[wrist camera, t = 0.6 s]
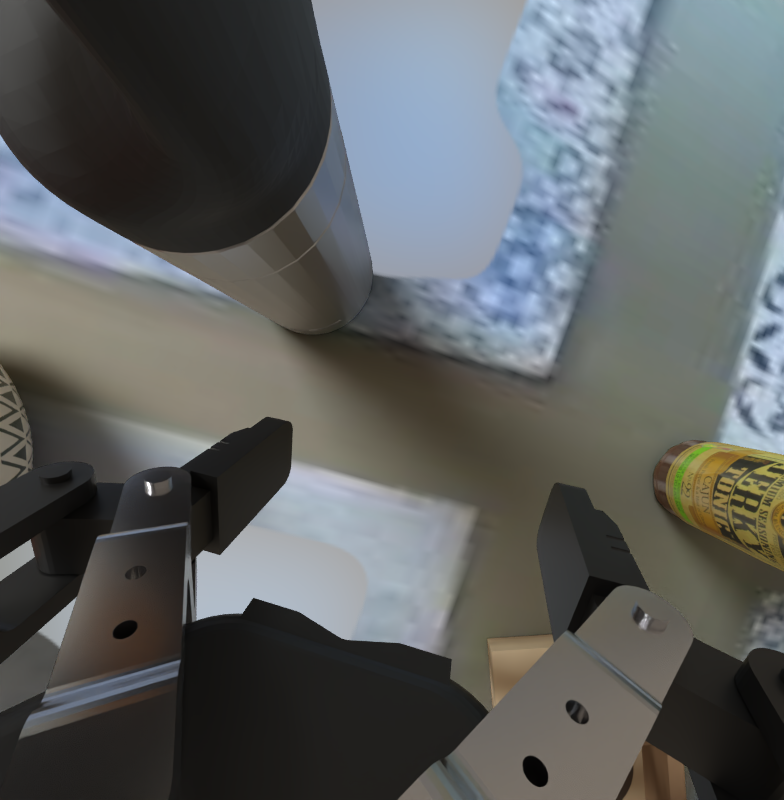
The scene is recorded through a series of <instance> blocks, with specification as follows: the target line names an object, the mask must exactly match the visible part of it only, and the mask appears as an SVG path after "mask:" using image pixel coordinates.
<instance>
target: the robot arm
mask: <svg viewBox="0 0 784 800" xmlns="http://www.w3.org/2000/svg"><path fill="white" fill-rule="evenodd" d="M0 135H1V136H2V138H3V140H4V141H5V143H6V144H7V146H8V147H9V149H10V150H11V151H12V152H13V154H14V155H15V156H16V158H17V159H18V160H19V162H20V163H21V164H22V165H23V166H24V167H25V168H26V169H27V170H28V172H29V173H30V174H31V175H32V176H33V177H34V178H35V179H37V180H38V181H39V182H40V183H41V184H42V185H43V186H44V187H45V188H47V189H48V190H49V191H50V192H51V193H53V194H54V195H56V196H57V197H58V198H60V199H61V200H62V201H64V202H65V203H66V204H68V205H69V206H71V207H73V208H74V209H76V210H78V211H79V212H81V213H82V214H84V215H86V216H87V217H89V218H91V219H92V220H94V221H96V222H98V223H99V224H101V225H103V226H105V227H107V228H108V229H110V230H112V231H114V232H116V233H117V234H119V235H121V236H123V237H125V238H126V239H129V240H130V241H132V242H134V243H135V244H137V245H139V246H141V247H143V248H144V249H146V250H148V251H150V252H151V253H153V254H155V255H157V256H158V257H160V258H162V259H164V260H166V261H167V262H169V263H171V264H173V265H174V266H176V267H178V268H180V269H182V270H183V271H186V272H187V273H189V274H191V275H193V276H194V277H196V278H198V279H200V280H201V281H203V282H205V283H207V284H209V285H210V286H212V287H214V288H216V289H217V290H219V291H221V292H223V293H224V294H226V295H228V296H230V297H231V298H233V299H235V300H237V301H239V302H240V303H242V304H244V305H246V306H247V307H249V308H251V309H253V310H254V311H256V312H258V313H260V314H262V315H263V316H265V317H267V318H269V319H270V320H272V321H274V322H276V323H277V324H279V325H281V326H282V327H284V328H287V329H289V330H291V331H294V332H298V333H302V334H316V335H318V334H323V333H328V332H332V331H334V330H336V329H339V328H341V327H343V326H344V325H346V324H347V323H348V322H350V321H351V320H353V318H354V317H355V316H356V315H357V314H358V313H359V312H360V311H361V309H362V308H363V306H364V304H365V303H366V301H367V299H368V296H369V293H370V290H371V287H372V279H373V270H372V261H371V257H370V252H369V248H368V243H367V239H366V234H365V230H364V226H363V222H362V218H361V213H360V209H359V205H358V200H357V196H356V193H355V188H354V184H353V179H352V175H351V171H350V166H349V163H348V158H347V154H346V149H345V145H344V141H343V136H342V132H341V130H340V125H339V121H338V117H337V113H336V109H335V104H334V100H333V96H332V92H331V87H330V83H329V78H328V74H327V70H326V65H325V61H324V57H323V53H322V49H321V45H320V41H319V36H318V31H317V27H316V21H315V17H314V12H313V7H312V2H311V0H0ZM292 433H293V428H292V424H291V422H289V421H285V420H280V419H276V418H271V417H265V418H264V419H262V420H261V421H260V422H258V423H257V424H255V425H254V426H252V427H251V428H245V429H242V430H239V431H236V432H233V433H231V434H230V435H228V436H227V437H225V438H224V439H222V440H221V441H220V442H218V443H216V444H215V445H213V446H212V447H211V449H207V450H206V451H204V452H203V453H201V454H200V455H198V456H197V457H195V458H194V459H192V460H191V461H189V462H188V463H187V464H185V465H184V466H182V467H181V468H177V467H158V468H152V469H148V470H145V471H142V472H140V473H138V474H136V475H134V476H132V477H131V478H130V479H128V480H127V481H126V483H125V484H119V483H96V479H95V473H94V469H93V467H92V466H91V465H89V464H86V463H82V462H61V463H54V464H50V465H46V466H43V467H40V468H37V469H34V470H32V471H30V472H28V473H26V474H24V475H22V476H20V477H18V478H16V479H14V480H12V481H10V482H8V483H6V484H4V485H2V486H0V559H1V558H2V557H4V556H5V555H7V554H8V553H10V552H12V551H13V550H15V549H16V548H18V547H19V546H21V545H22V544H24V543H25V542H27V541H28V540H30V539H31V543H32V547H33V551H34V554H35V557H34V558H33V559H32V560H30V561H29V562H27V563H26V564H24V565H23V566H22V567H20V568H19V569H17V570H16V571H15V572H13V573H12V574H10V575H9V576H7V577H6V578H4V579H3V580H2V581H0V664H1V663H2V662H3V661H4V660H6V659H7V658H8V657H9V656H10V655H11V654H12V653H13V652H15V651H16V650H17V649H18V648H19V647H20V646H21V645H23V644H24V643H25V642H26V641H27V640H28V639H29V638H30V637H32V636H33V635H34V634H35V633H36V632H37V631H38V630H40V629H41V628H42V627H43V626H44V625H45V624H46V623H47V622H49V621H50V620H51V619H52V618H53V617H54V616H55V615H56V614H58V613H59V612H60V611H61V610H62V609H63V608H64V607H66V606H67V605H68V604H69V603H70V602H71V601H72V600H73V599H75V598H76V597H77V599H76V602H75V605H74V608H73V611H72V614H71V617H70V620H69V623H68V626H67V629H66V632H65V635H64V638H63V641H62V644H61V647H60V650H59V653H58V656H57V659H56V662H55V665H54V668H53V671H52V674H51V677H50V681H49V684H48V687H47V690H46V691H45V692H43V693H41V694H39V695H37V696H35V697H33V698H30V699H28V700H26V701H24V702H22V703H20V704H18V705H16V706H14V707H12V708H9V709H7V710H5V711H3V712H1V713H0V800H616V798H617V796H618V794H619V792H620V790H621V788H622V786H623V784H624V782H625V780H626V778H627V776H628V774H629V772H630V770H631V768H632V766H633V764H634V762H635V760H636V758H637V756H638V754H639V752H640V750H641V748H642V746H643V744H644V742H645V741H647V742H648V743H650V744H651V745H653V746H655V747H656V748H658V749H659V750H661V751H663V752H664V753H666V754H667V755H669V756H671V757H672V758H674V759H675V760H677V761H679V762H680V763H682V764H684V765H685V766H687V767H688V770H689V773H690V776H691V778H692V781H693V784H694V787H695V790H696V793H697V795H698V798H699V800H784V653H781V652H778V651H775V650H771V649H766V648H757V649H754V650H752V651H751V652H750V653H749V654H748V656H747V657H746V659H745V660H744V662H742V661H740V660H738V659H736V658H734V657H731V656H729V655H727V654H725V653H723V652H721V651H719V650H717V649H715V648H713V647H711V646H709V645H707V644H705V643H703V642H701V641H699V640H697V639H696V638H694V637H693V632H692V629H691V627H690V625H689V623H688V622H687V620H686V619H685V618H684V617H683V615H682V614H681V613H680V612H679V611H678V610H677V609H676V608H675V607H673V606H672V605H671V604H670V603H669V602H667V601H666V600H664V599H663V598H661V597H659V596H658V595H656V594H654V593H652V592H650V590H649V588H648V586H647V584H646V582H645V580H644V578H643V576H642V574H641V572H640V570H639V568H638V566H637V564H636V562H635V560H634V558H633V556H632V554H630V550H629V548H628V546H627V544H626V542H624V538H623V536H622V534H621V532H620V530H619V528H618V526H617V525H616V524H615V523H614V522H613V521H612V520H611V519H610V518H609V517H608V516H607V515H606V514H605V513H604V512H603V511H600V510H596V509H594V507H593V505H592V503H591V501H590V498H589V496H588V494H587V492H586V490H585V489H583V488H579V487H574V486H570V485H566V484H561V483H555V484H554V486H553V488H552V490H551V493H550V496H549V499H548V502H547V505H546V508H545V511H544V514H543V517H542V521H541V524H540V527H539V530H538V536H537V552H538V557H539V563H540V568H541V574H542V579H543V585H544V591H545V596H546V602H547V607H548V613H549V618H550V624H551V629H552V635H553V641H554V643H553V644H552V645H551V647H550V648H549V649H548V650H547V651H546V652H545V653H544V654H543V655H542V656H541V657H540V658H539V659H538V661H537V662H536V663H535V664H534V665H533V666H532V667H531V668H530V669H529V670H528V671H527V672H526V674H525V675H524V676H523V677H522V678H521V679H520V680H519V681H518V682H517V683H516V684H515V685H514V686H513V688H512V689H511V690H510V691H509V692H508V693H507V694H506V695H505V696H504V697H503V698H502V699H501V700H500V702H499V703H498V704H497V705H496V706H495V707H494V708H493V709H492V710H491V711H490V712H488V711H487V710H486V708H485V707H484V706H483V705H482V704H481V703H480V702H479V701H478V700H477V699H476V698H475V697H474V696H473V695H472V694H471V693H469V692H468V691H467V690H465V689H464V688H463V687H462V686H460V685H459V684H457V683H456V682H454V681H453V680H451V679H450V672H451V660H452V659H449V658H445V657H442V656H439V655H436V654H432V653H429V652H426V651H423V650H420V649H416V648H413V647H410V646H407V645H403V644H400V643H386V642H368V641H351V640H344V639H341V638H340V637H338V636H336V635H335V634H333V633H331V632H330V631H328V630H327V629H325V628H323V627H322V626H320V625H318V624H317V623H316V622H314V621H312V620H310V619H309V618H307V617H306V616H304V615H303V614H301V613H299V612H297V611H294V610H291V609H287V608H284V607H281V606H278V605H275V604H271V603H268V602H264V601H262V600H258V599H255V598H253V599H252V601H251V602H250V604H249V605H248V606H247V608H246V609H245V611H244V612H243V614H224V615H218V616H212V617H208V618H204V619H200V620H198V621H196V596H197V592H196V591H197V561H196V556H197V555H198V554H200V552H201V551H203V550H204V551H208V552H212V553H215V554H218V555H220V554H221V553H222V552H223V551H224V550H225V549H226V548H227V547H228V546H229V545H230V544H231V542H232V541H233V540H234V539H235V538H236V537H237V536H238V535H239V534H240V532H241V531H242V530H243V529H244V528H245V527H246V526H247V525H248V524H249V523H250V521H251V520H252V519H253V518H254V517H255V516H256V515H257V514H258V513H259V512H260V510H261V509H262V508H263V507H264V506H265V505H266V504H267V503H268V502H269V501H270V499H271V498H272V497H273V496H274V495H275V494H276V493H277V492H278V491H279V489H280V488H281V487H282V486H283V485H284V484H285V482H286V481H287V478H288V476H289V473H290V469H291V456H292Z"/></svg>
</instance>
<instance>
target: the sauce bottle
mask: <svg viewBox="0 0 784 800" xmlns="http://www.w3.org/2000/svg"><path fill="white" fill-rule="evenodd" d="M653 479H654V489H655V495H656V497H657V500H658V501H659V502H660V503H661V504H662V505H663V506H664V507H665V508H666V509H667V510H668V511H669V512H671V513H672V514H674V515H675V516H677V517H678V518H680V519H681V520H683V521H684V522H686V523H688V524H689V525H691V526H693V527H695V528H697V529H699V530H701V531H703V532H705V533H707V534H709V535H711V536H713V537H715V538H717V539H719V540H721V541H723V542H725V543H727V544H729V545H731V546H733V547H735V548H737V549H739V550H741V551H743V552H745V553H747V554H749V555H751V556H753V557H755V558H757V559H759V560H761V561H763V562H765V563H767V564H769V565H771V566H773V567H775V568H778V569H780V570H782V571H783V572H784V455H781V454H776V453H771V452H766V451H760V450H755V449H750V448H744V447H740V446H735V445H730V444H724V443H718V442H706V441H697V440H691V441H686V442H682V443H680V444H679V445H676V446H674V447H672V448H670V449H669V450H668V451H667V452H666V453H665V454H664V456H663V457H662V458H661V459H660V461H659V463H658V464H657V465H656V467H655V470H654V474H653Z"/></svg>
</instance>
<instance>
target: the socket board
mask: <svg viewBox="0 0 784 800" xmlns="http://www.w3.org/2000/svg"><path fill="white" fill-rule="evenodd" d="M487 643H488V656H489V668H490V680H491V693H492V705H493V708H494V707H495V706H496V705H497V704H498V703H499V702H500V700H501V699H502V698H503V697H504V696H505V695H506V694H507V693H508V692H509V691H510V690H511V689H512V688H513V686H514V685H515V684H516V683H517V682H518V681H519V680H520V679H521V678H522V677H523V676H524V675H525V674H526V672H527V671H528V670H529V669H530V668H531V667H532V666H533V665H534V664H535V663H536V662H537V661H538V659H539V658H540V657H541V656H542V655H543V654H544V653H545V652H546V651H547V650H548V649H549V648H550V647H551V645H552V644H553V643H554V641H553V635H552V634H548V635H533V636H518V637H502V638H487ZM616 800H686V788H685V775H684V764H682V763H680V762H679V761H677V760H675V759H674V758H672V757H671V756H669V755H667V754H666V753H664V752H663V751H661V750H659V749H658V748H656V747H655V746H653V745H651V744H650V743H648V742H647V741H645V742H644V744H643V746H642V748H641V750H640V752H639V754H638V756H637V758H636V760H635V762H634V764H633V766H632V768H631V770H630V772H629V774H628V776H627V778H626V780H625V782H624V784H623V786H622V788H621V790H620V792H619V794H618V796H617V798H616Z"/></svg>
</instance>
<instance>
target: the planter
mask: <svg viewBox="0 0 784 800" xmlns="http://www.w3.org/2000/svg"><path fill="white" fill-rule="evenodd" d="M32 467H33V447H32V437H31V431H30V426H29V422H28V418H27V415H26V412H25V409H24V406H23V404H22V401H21V399H20V396H19V394H18V392H17V390H16V388H15V386H14V384H13V382H12V381H11V379H10V377H9V375H8V374H7V372H6V371H5V370H4V368H3V367H2V365H1V364H0V486H2V485H4V484H6V483H8V482H10V481H12V480H14V479H16V478H18V477H20V476H22V475H24V474H26V473H28V472H30V471H32Z"/></svg>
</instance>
